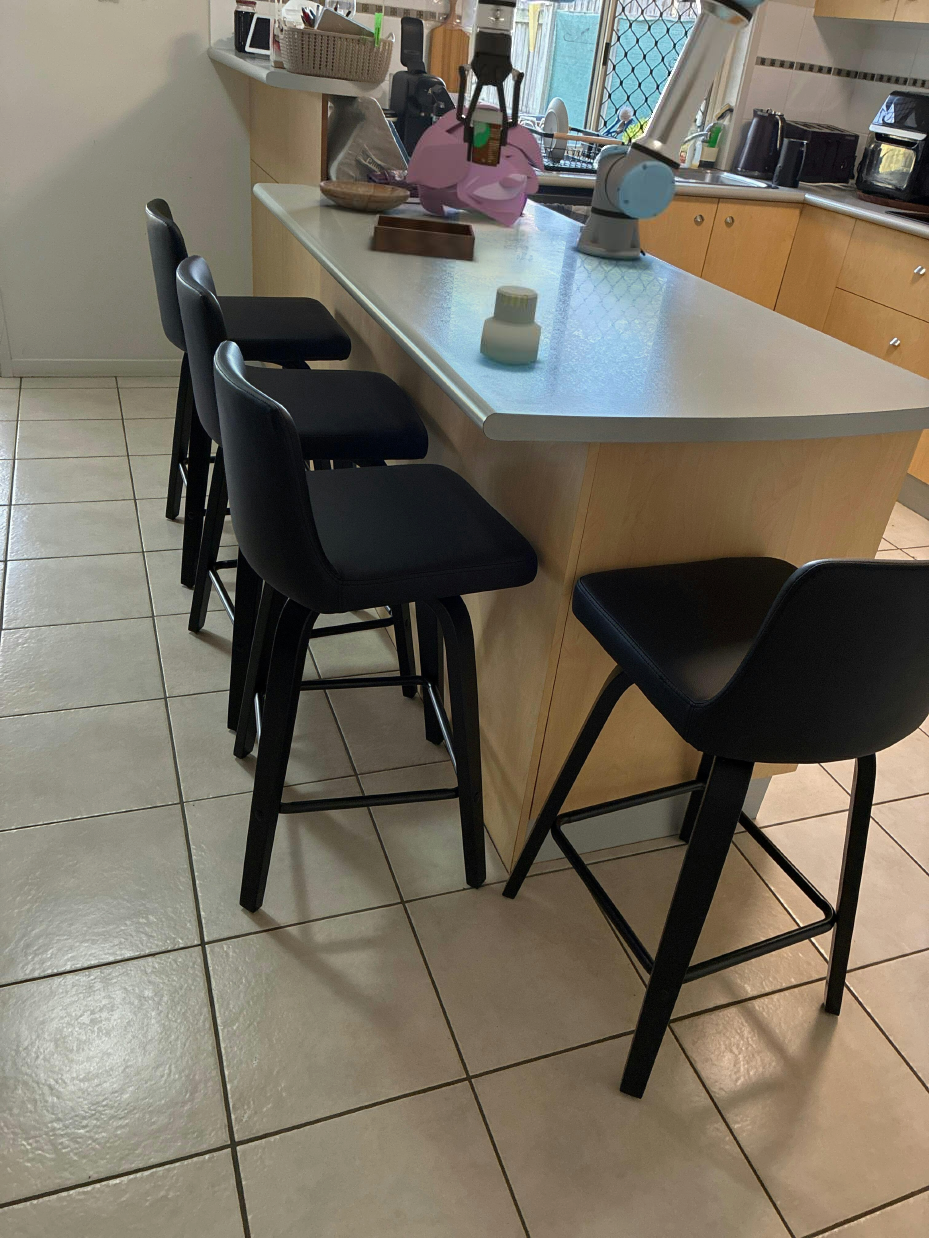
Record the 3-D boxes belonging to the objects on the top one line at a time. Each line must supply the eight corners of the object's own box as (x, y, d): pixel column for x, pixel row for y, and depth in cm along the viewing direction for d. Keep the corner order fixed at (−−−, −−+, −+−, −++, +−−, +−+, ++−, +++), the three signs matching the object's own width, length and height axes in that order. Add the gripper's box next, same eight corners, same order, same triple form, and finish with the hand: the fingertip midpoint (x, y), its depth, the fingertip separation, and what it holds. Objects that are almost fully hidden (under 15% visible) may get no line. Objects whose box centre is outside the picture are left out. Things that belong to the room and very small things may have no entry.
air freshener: (483, 346, 139) (491, 278, 134) (537, 354, 139) (547, 286, 134) (477, 366, 130) (485, 294, 125) (534, 374, 130) (545, 302, 124)
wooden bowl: (425, 212, 242) (427, 192, 239) (371, 219, 225) (372, 197, 222) (357, 197, 251) (357, 177, 249) (299, 202, 234) (300, 181, 231)
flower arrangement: (521, 235, 257) (540, 124, 248) (545, 234, 236) (568, 112, 227) (399, 211, 248) (415, 95, 239) (413, 206, 227) (431, 79, 218)
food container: (465, 158, 198) (469, 105, 192) (493, 161, 198) (498, 108, 193) (467, 165, 187) (472, 109, 182) (497, 168, 188) (502, 112, 183)
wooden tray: (469, 247, 207) (471, 224, 204) (472, 261, 194) (475, 237, 192) (375, 237, 205) (376, 214, 202) (372, 250, 192) (374, 226, 189)
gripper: (449, 27, 176) (439, 160, 189) (542, 37, 178) (527, 168, 190) (447, 27, 183) (439, 156, 195) (538, 37, 184) (524, 164, 197)
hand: (482, 162), depth 193 cm, fingers closed on food container, 5 cm apart
